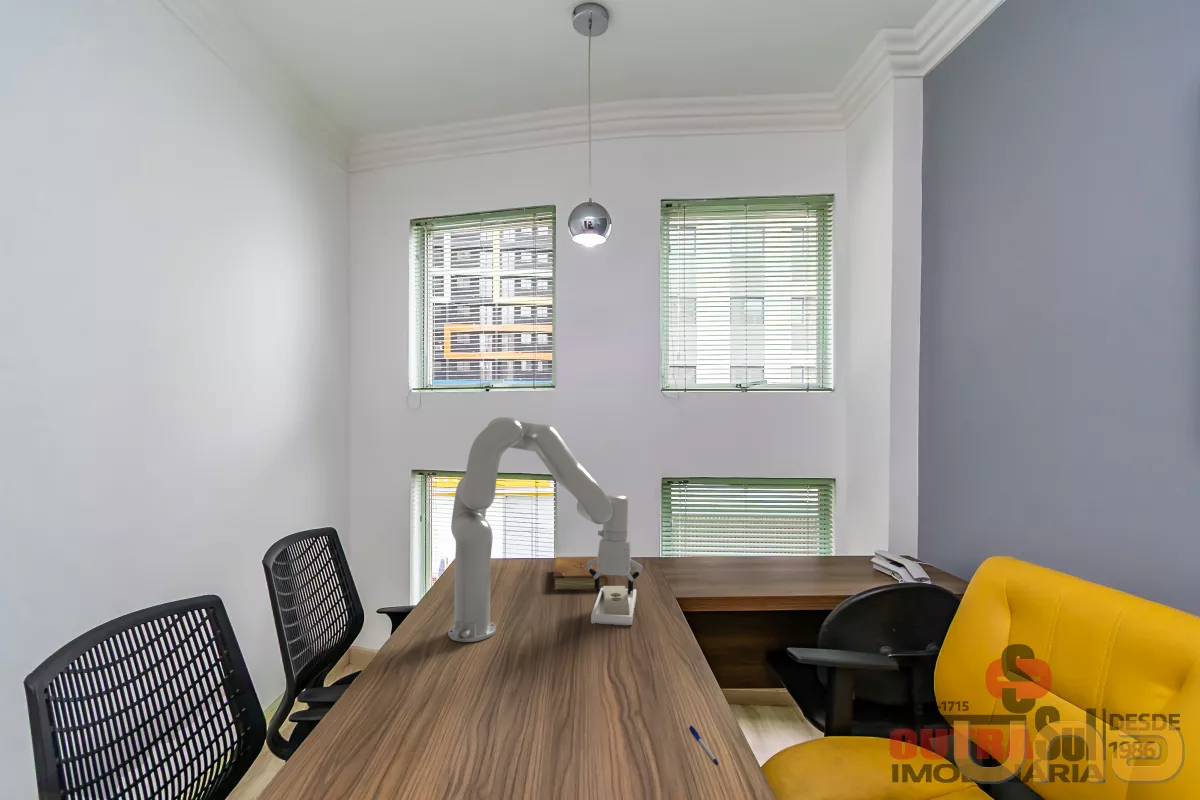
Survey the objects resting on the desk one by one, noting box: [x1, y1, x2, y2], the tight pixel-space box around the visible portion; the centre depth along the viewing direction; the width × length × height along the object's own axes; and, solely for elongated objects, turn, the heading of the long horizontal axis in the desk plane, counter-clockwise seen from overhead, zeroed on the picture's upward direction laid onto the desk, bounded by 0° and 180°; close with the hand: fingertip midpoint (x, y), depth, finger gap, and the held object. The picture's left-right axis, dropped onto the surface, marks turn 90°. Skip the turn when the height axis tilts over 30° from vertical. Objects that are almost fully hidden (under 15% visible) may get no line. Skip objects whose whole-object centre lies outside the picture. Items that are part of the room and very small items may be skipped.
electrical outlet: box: [603, 585, 629, 615], centre depth 157 cm, size 7×4×18 cm
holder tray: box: [590, 588, 637, 626], centre depth 156 cm, size 23×12×2 cm, turn 173°
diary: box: [552, 556, 610, 592], centre depth 184 cm, size 23×19×6 cm
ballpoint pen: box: [688, 724, 719, 765], centre depth 92 cm, size 10×1×1 cm, turn 17°
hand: (613, 592), depth 156 cm, fingers open, 9 cm apart
